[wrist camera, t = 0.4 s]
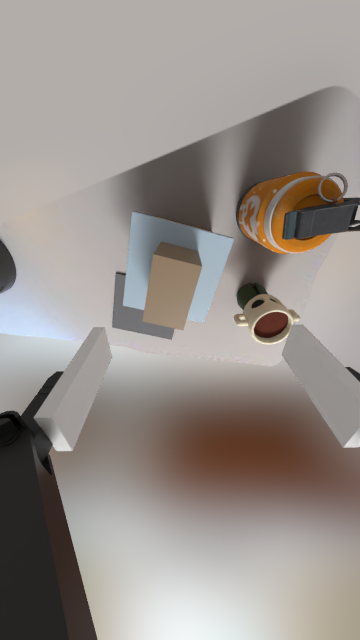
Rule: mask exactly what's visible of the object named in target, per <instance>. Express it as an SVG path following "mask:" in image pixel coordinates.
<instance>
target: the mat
mask: <svg viewBox="0 0 360 640" xmlns="http://www.w3.org/2000/svg"><path fill="white" fill-rule="evenodd" d="M125 279H126V275H123V274H119V273H116V283H115V297H114V311H113V325H112V327H113V328H118V329H123V330H128V331H133V332H137V333H142V334H147V335H152V336H157V337H162V338H167V339H171V340H172V336H173V333H174V329H175V328H170V327H166V326H161V325H156V324H151V323H147V322H142V321H143V314H144V310H141V309H136V308H132V307H127V306H123V299H124V289H125Z"/></svg>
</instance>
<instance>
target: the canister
mask: <svg viewBox="0 0 360 640" xmlns="http://www.w3.org/2000/svg"><path fill="white" fill-rule="evenodd" d="M330 176H337V177H339V178H340V179H341V180H342V181H343V183H344V191H343V193H342V192H341V190H340V188H339V187H338V185H337V184H336V183H335V182H334V181H333V180H332V179H330V178H328V177H330ZM347 187H348V184H347V180H346V178H345V177H344V176H343V175H342V174H339V173H331V174H328V175H327V176H321V175H320V174H317V173H314V172H299V173H295V174H291V175H287V176H283V177H279V178H275V179H271V180H267V181H263V182H260V183H257V184H255V185H254V186H252V187H251V188H250V189H248V190H247V191H246V193H245V194H244V195H243V197H242V198H241V200H240V202H239V205H238V208H237V213H236V219H237V225H238V227H239V229H240V231H241V232H242V233H243V234H244V235H245V236H247V237H248V238H250V239H252V240H254V241H255V242H257V243H259V244H261V245H262V246H264V247H266V248H268V249H269V250H271V251H273V252H276V253H281V254H289V253H293V254H295V253H303V252H306V251H309V250H311V249H313V248H315V247H317V246H318V245H320V244H321V243H323V242H324V241H325V240H326V239H327V238H328V237H329V236H330V235H331V234H333V233H340V232H346V231H360V225H358V226H356V227H349V226H351V225H355V224H358V223H360V221H359V220H354V219H355V216H356V212H357V208H358V205H360V202H359V201H360V198H343V196H344V195H345V193H346V191H347Z"/></svg>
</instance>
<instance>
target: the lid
mask: <svg viewBox="0 0 360 640" xmlns="http://www.w3.org/2000/svg"><path fill="white" fill-rule="evenodd" d="M233 241H234V239H233V238H232V237H228V236H224V235H221V234H217V233H213V232H210V231H206V230H202V229H198V228H195V227H191V226H187V225H184V224H180V223H176V222H172V221H169V220H165V219H161V218H157V217H154V216H150V215H146V214H143V213H139V212H135V211H133V212H132V217H131V227H130V238H129V248H128V258H127V268H126V279H125V289H124V299H123V306H127V307H132V308H136V309H141V310H144V314H143V321H142V322H147V323H151V324H156V325H161V326H166V327H170V328H175V329H180V330H183V329H184V326H185V323H186V319H187V320H191V321H196V322H201V323H204V322H205V319H206V316H207V313H208V311H209V308H210V305H211V302H212V300H213V297H214V294H215V291H216V289H217V286H218V283H219V280H220V277H221V275H222V272H223V269H224V266H225V264H226V261H227V258H228V255H229V253H230V250H231V247H232V244H233Z"/></svg>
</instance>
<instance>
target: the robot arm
mask: <svg viewBox="0 0 360 640" xmlns="http://www.w3.org/2000/svg"><path fill="white" fill-rule="evenodd" d="M15 279H16V269H15V265H14V262H13V259H12V257H11V255H10V254H9V252H8V250H7V249H6V248H5V246H4V245H3V244H2V243H1V242H0V294H1V293H3V292H5V291H7V290H8V289H10V288H11V287H12V286H13V284H14V282H15ZM282 356H283V357H284V359H285V360H286V362H287V363H288V365H289V366H290V368H291V369H292V371H293V373H294V374H295V376H296V377H297V378H298V380H299V382H300V383H301V385H302V386H303V388H304V389H305V391H306V392H307V394H308V395H309V397H310V398H311V400H312V401H313V403H314V404H315V406H316V407H317V408H318V410H319V412H320V413H321V415H322V416H323V418H324V419H325V421H326V422H327V424H328V425H329V427H330V428H331V430H332V431H333V433H334V434H335V436H336V437H337V439H338V440H339V442H340V443H341V445H342V446H343V447H360V374H359V373H358V372H356V371H355V370H353V369H352V368H350V367H344V366H343V365H342V364H341V363H340V362H339V361H338V360H337V359H336V358H335V357H334V356H333V354H332V353H330V351H329V350H328V349H326V347H324V346H323V344H321V342H320V341H319V340H318V339H316V337H315V336H314V335H313V334H312V333H311V332H310V331H309V330H308V329H307V328H306V327H305V326H304V325H292V326H291V329H290V332H289V335H288V338H287V341H286V343H285V346H284V349H283V352H282ZM111 358H112V355H111V351H110V347H109V343H108V339H107V335H106V332H105V328H104V327H95V328H93V329H92V330H91V332H90V334H89V335H88V337H87V338H86V340H85V341H84V343H83V344H82V346H81V347H80V349H79V350H78V352H77V353H76V355H75V356H74V358H73V359H72V361H71V362H70V364H69V365H68V367H67V368H66V370H65V371H64V372H56V373H54V374H53V375H52V376H51V377H50V378H48V380H47V381H46V382H45V384H44V385H43V386H42V388H41V389H40V390H39V392H38V394H37V395H36V396H35V397H34V399H33V400H32V401H31V403H30V404H29V406H28V407H27V408H26V410H25V411H24V413H23V414H22V415H21V416H20V415H19V414H18V412H15V411H6V412H4V413H1V414H0V640H97V636H96V632H95V628H94V625H93V621H92V617H91V613H90V609H89V605H88V601H87V598H86V594H85V590H84V586H83V582H82V578H81V574H80V571H79V566H78V562H77V558H76V555H75V551H74V547H73V543H72V539H71V535H70V531H69V528H68V524H67V520H66V516H65V512H64V508H63V504H62V500H61V496H60V493H59V489H58V485H57V481H56V477H55V473H54V470H53V465H52V462H51V458H50V455H49V454H48V453H49V451H50V449H51V447H52V445H53V446H54V448H55V449H56V451H73V448H74V446H75V444H76V441H77V439H78V437H79V434H80V432H81V429H82V427H83V425H84V422H85V420H86V418H87V415H88V413H89V410H90V408H91V406H92V403H93V401H94V399H95V396H96V394H97V392H98V389H99V387H100V384H101V382H102V380H103V377H104V375H105V373H106V370H107V368H108V365H109V363H110V361H111Z"/></svg>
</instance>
